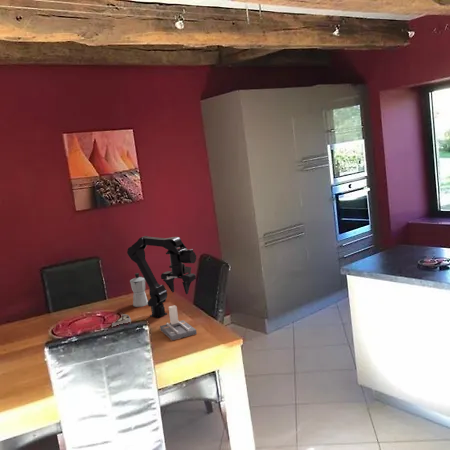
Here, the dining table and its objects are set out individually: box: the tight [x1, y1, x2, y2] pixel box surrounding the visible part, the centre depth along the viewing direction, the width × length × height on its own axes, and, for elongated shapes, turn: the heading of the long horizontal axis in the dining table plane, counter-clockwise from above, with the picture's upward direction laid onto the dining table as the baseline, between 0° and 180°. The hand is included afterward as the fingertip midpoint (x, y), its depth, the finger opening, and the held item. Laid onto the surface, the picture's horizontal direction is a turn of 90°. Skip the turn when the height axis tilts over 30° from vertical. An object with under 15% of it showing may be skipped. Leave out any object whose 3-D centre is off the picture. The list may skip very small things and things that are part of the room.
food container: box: [111, 314, 132, 328], centre depth 231 cm, size 12×6×10 cm, turn 168°
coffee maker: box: [129, 272, 149, 308], centre depth 281 cm, size 15×9×18 cm, turn 179°
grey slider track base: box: [159, 320, 197, 341], centre depth 234 cm, size 16×12×3 cm
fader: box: [168, 304, 180, 327], centre depth 236 cm, size 3×4×9 cm
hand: (180, 293), depth 250 cm, fingers open, 9 cm apart
